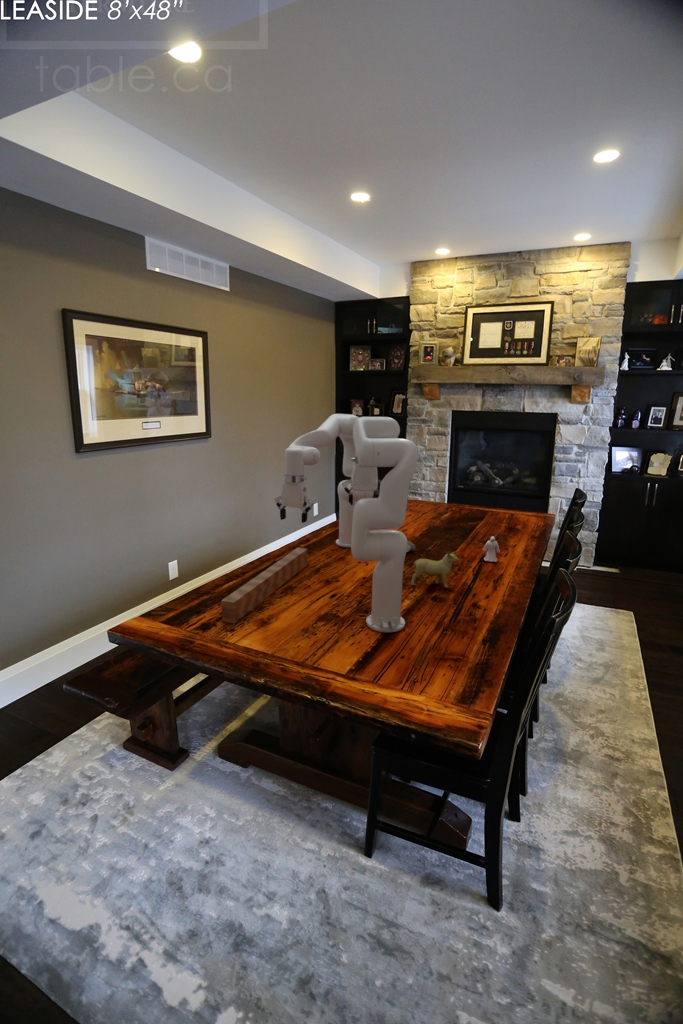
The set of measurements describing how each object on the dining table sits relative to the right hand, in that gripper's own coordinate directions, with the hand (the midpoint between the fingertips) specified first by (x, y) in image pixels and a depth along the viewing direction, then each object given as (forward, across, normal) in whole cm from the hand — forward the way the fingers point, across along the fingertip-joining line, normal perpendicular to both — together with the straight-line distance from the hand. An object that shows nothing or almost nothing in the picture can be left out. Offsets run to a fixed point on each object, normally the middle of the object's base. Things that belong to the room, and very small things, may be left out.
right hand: (363, 504), depth 197 cm
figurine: (+30, +61, +16) cm, 70 cm away
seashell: (+30, +26, +30) cm, 49 cm away
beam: (+30, -36, -12) cm, 48 cm away
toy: (+30, +27, -12) cm, 42 cm away
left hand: (+8, -27, +7) cm, 30 cm away
